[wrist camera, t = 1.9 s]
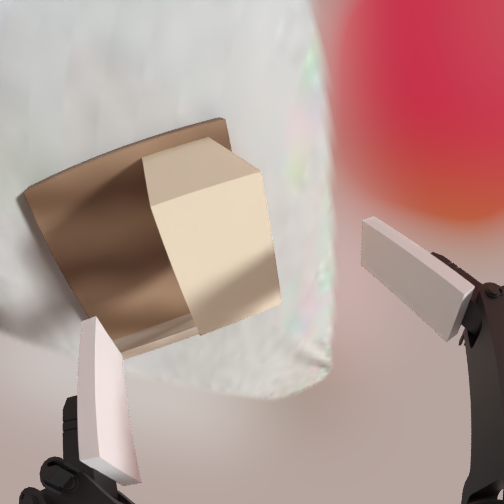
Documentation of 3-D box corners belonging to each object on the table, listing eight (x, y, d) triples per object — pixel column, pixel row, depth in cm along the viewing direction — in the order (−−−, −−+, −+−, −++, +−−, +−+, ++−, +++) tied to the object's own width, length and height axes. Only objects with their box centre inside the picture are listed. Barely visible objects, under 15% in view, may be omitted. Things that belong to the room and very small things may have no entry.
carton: (142, 157, 20) (150, 206, 12) (209, 136, 21) (263, 170, 13) (172, 250, 25) (200, 335, 17) (230, 229, 26) (283, 303, 18)
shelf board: (29, 186, 19) (15, 202, 16) (219, 117, 22) (233, 122, 20) (111, 339, 29) (112, 365, 26) (255, 287, 32) (269, 308, 29)
